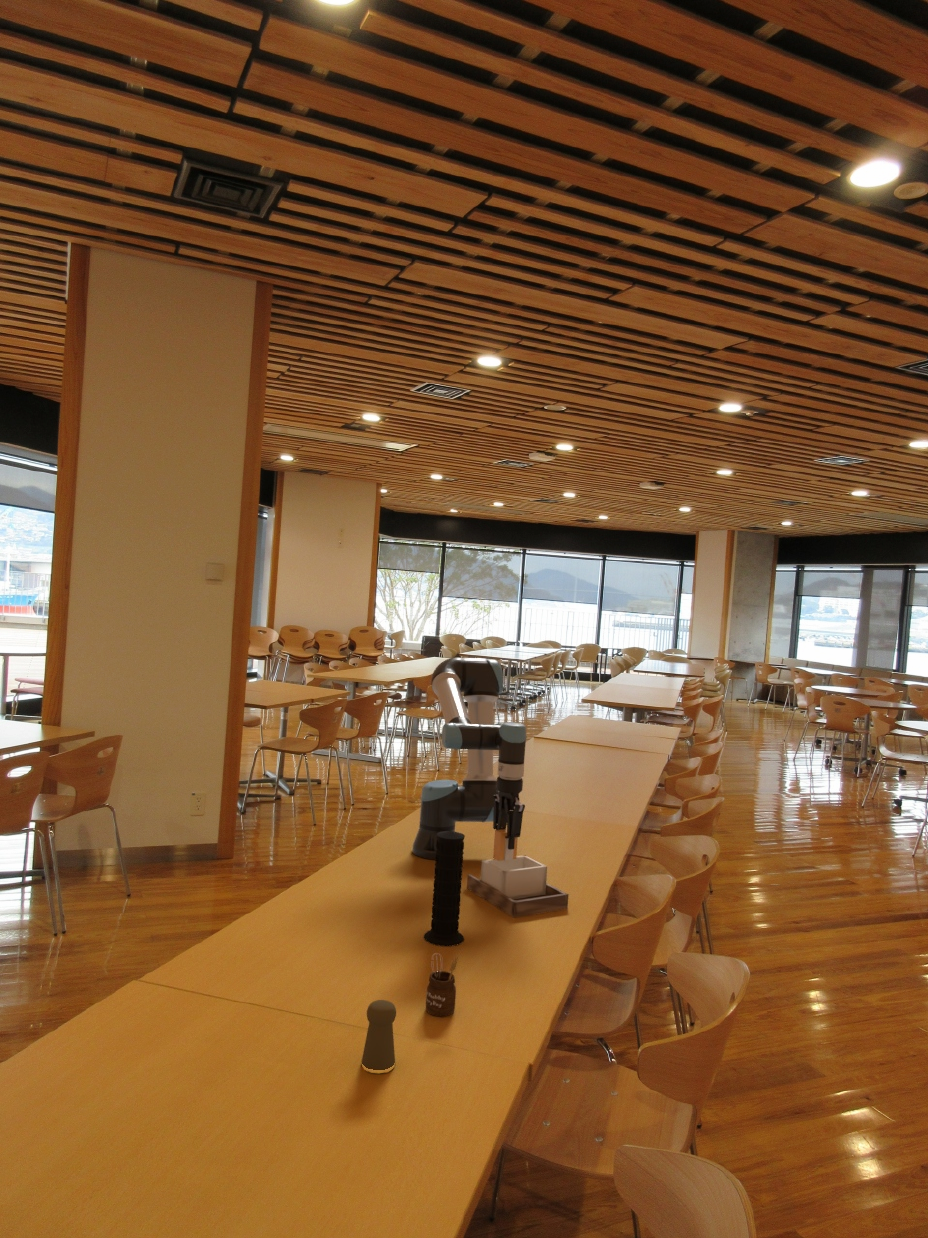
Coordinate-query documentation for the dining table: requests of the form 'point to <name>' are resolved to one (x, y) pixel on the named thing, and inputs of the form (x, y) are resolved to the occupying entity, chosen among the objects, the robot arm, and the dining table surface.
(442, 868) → the handle grip
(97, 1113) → the dining table surface
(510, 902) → the bay
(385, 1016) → the grey pepper shaker
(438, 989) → the utensil holder
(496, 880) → the box
